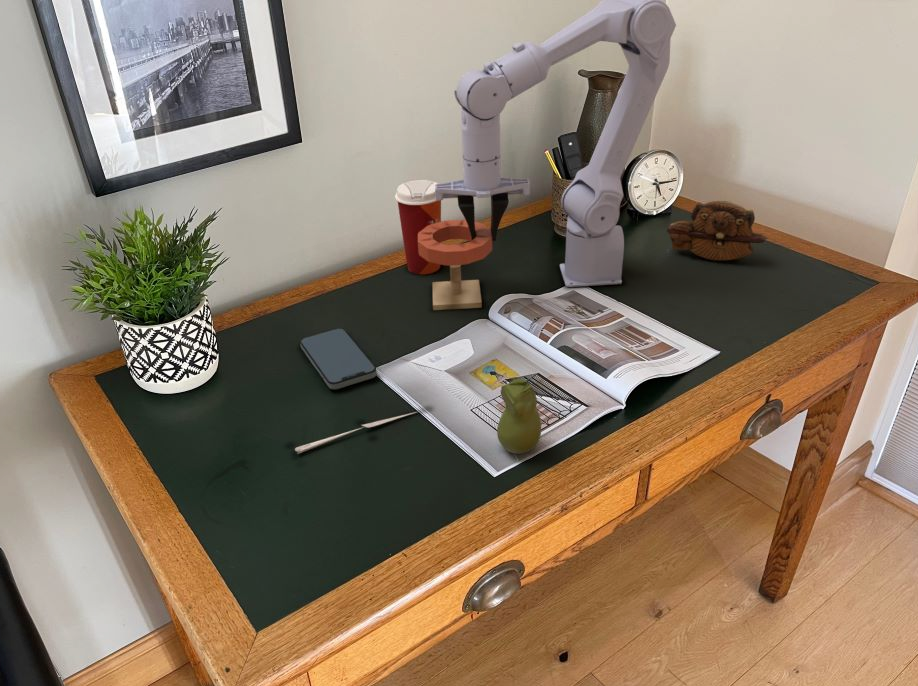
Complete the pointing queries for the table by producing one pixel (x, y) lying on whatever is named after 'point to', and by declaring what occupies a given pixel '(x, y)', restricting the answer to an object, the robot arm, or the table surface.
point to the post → (456, 292)
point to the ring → (454, 253)
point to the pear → (519, 418)
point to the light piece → (317, 443)
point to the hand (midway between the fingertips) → (483, 238)
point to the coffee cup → (417, 220)
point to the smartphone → (338, 359)
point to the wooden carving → (716, 231)
